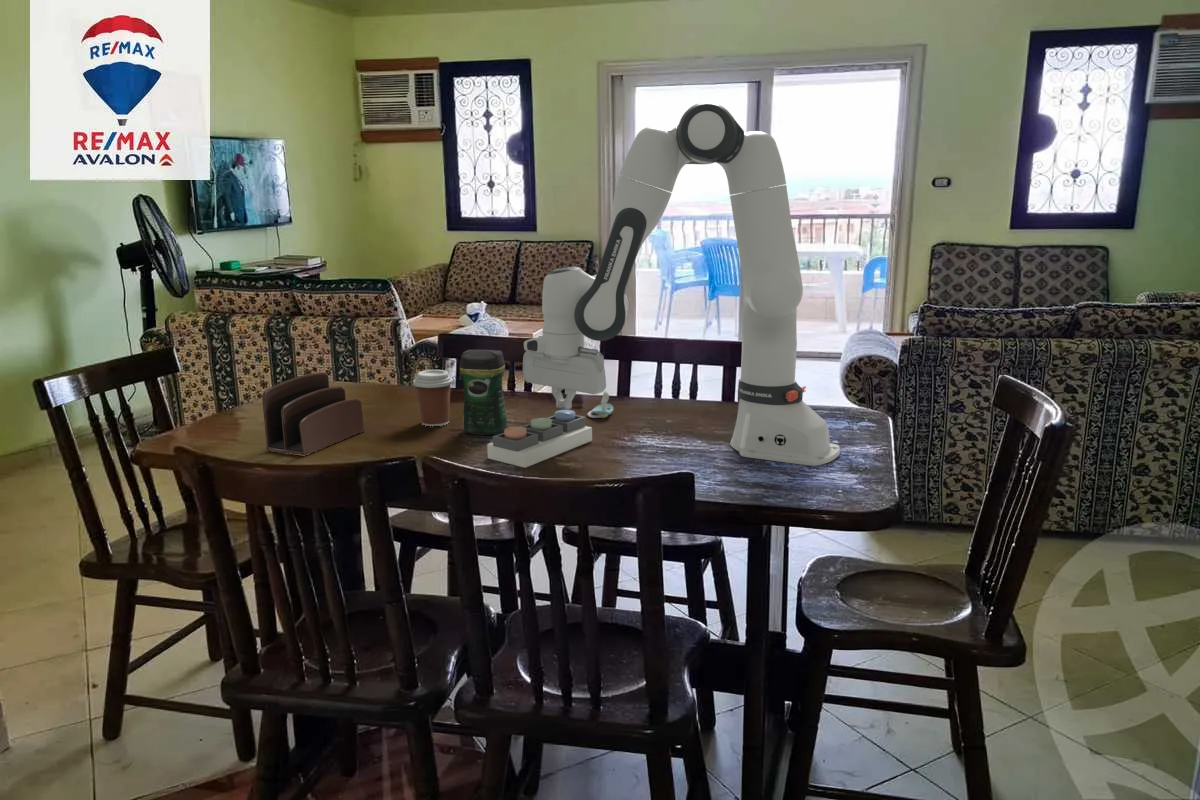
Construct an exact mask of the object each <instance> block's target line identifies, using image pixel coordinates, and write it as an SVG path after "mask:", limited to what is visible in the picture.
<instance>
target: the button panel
mask: <svg viewBox="0 0 1200 800" xmlns="http://www.w3.org/2000/svg"><path fill="white" fill-rule="evenodd" d="M547 418H548V419H551V420H552V428H550V429H548V430H545V431H539V430H535V429H531V424H530V423H527V424H524V425H522V426H521V427H524V428H526V435H527V437H525V438H523V439H520V440H512V439H507V438H505V437H504V432H502V433H498V434H494V435H493V436H492V442H489V443H487V459H489V460H493V461H498V462H501V463H505V464H509V465H513V466H516V467H521V468H528V467H531V466H533V465H535V464H538V463H540V462H543V461H546V460H548V459H550V458H553V457H556V456H558V455H560V454H562V453H565V452H568V451H570V450H572V449H576V448H577V447H581V446H582V445H585V444H588V443H591V442H593V427H592V426H587V418H586V416H583V415H578V414H575V420H573V421H570V422H562V421H557V420H555V414H554V415H552V416H548V417H547Z"/></svg>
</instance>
